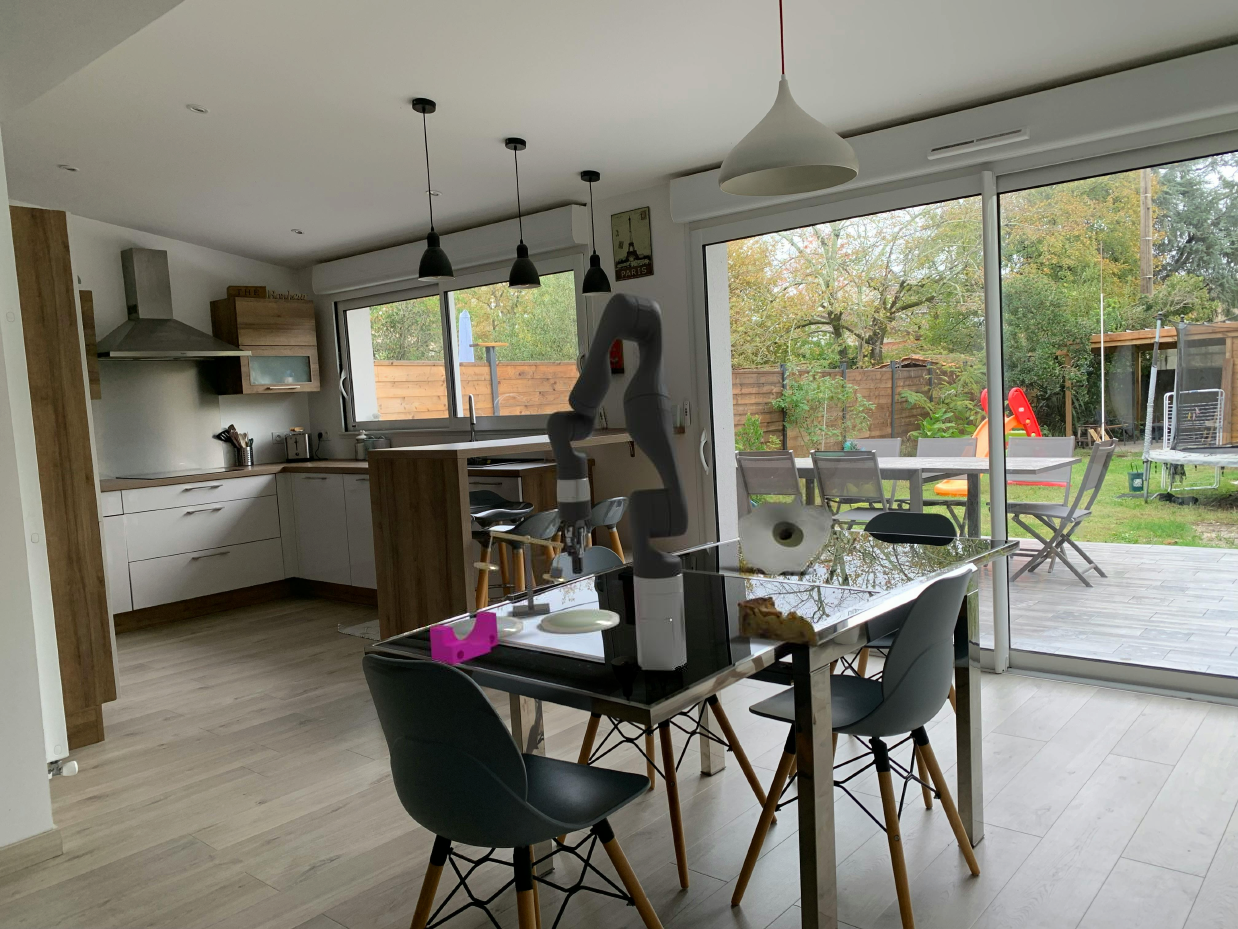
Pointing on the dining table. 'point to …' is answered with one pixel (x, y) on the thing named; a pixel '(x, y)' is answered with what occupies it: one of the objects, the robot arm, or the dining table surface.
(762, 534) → the flower planter
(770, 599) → the pie slice
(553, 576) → the balance beam
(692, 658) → the dining table surface
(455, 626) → the grey dish
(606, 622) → the sage dish
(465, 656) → the toy block
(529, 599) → the balance stand
